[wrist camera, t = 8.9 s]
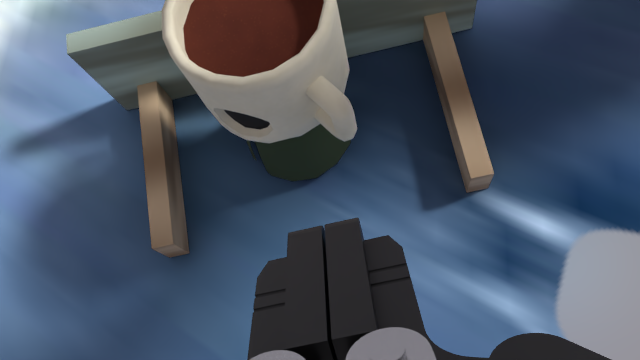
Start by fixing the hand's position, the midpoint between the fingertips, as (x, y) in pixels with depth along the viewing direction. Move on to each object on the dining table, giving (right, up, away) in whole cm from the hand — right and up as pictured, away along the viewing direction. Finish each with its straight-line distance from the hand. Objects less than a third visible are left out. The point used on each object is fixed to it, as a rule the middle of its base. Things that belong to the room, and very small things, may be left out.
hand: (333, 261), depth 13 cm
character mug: (-1, +4, +23) cm, 23 cm away
